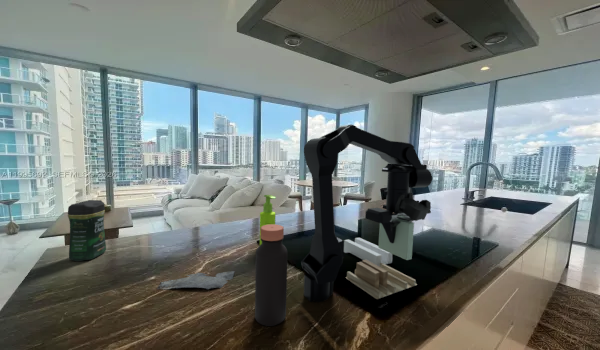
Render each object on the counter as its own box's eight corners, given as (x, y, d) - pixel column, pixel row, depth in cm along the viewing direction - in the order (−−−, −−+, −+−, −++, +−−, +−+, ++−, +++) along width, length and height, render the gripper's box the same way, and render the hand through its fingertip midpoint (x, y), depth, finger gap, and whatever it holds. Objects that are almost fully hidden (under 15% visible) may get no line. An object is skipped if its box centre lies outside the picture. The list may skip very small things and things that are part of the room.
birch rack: (376, 303, 61) (377, 293, 60) (344, 280, 71) (345, 272, 71) (417, 287, 68) (417, 279, 68) (383, 269, 79) (383, 262, 78)
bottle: (286, 307, 58) (288, 223, 56) (285, 327, 51) (287, 232, 50) (257, 306, 58) (258, 222, 56) (252, 327, 51) (253, 232, 49)
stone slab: (235, 269, 74) (226, 285, 64) (235, 275, 74) (226, 292, 64) (174, 270, 74) (155, 286, 64) (174, 276, 74) (155, 293, 64)
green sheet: (406, 260, 66) (409, 223, 66) (378, 247, 75) (380, 215, 74) (411, 258, 67) (414, 222, 67) (383, 246, 76) (384, 214, 75)
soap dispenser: (266, 251, 91) (267, 197, 90) (256, 245, 96) (257, 194, 95) (279, 247, 95) (280, 195, 93) (269, 242, 100) (270, 193, 99)
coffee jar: (91, 262, 78) (88, 204, 77) (63, 262, 78) (60, 203, 76) (111, 250, 88) (109, 198, 86) (87, 250, 87) (84, 198, 86)
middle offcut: (382, 290, 64) (383, 272, 64) (361, 277, 71) (362, 260, 71) (386, 289, 65) (387, 271, 65) (365, 276, 72) (365, 259, 72)
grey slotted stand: (376, 269, 78) (376, 256, 78) (343, 251, 92) (344, 240, 92) (391, 265, 82) (392, 252, 82) (358, 248, 96) (358, 237, 95)
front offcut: (374, 292, 64) (375, 273, 63) (355, 279, 70) (356, 262, 69) (378, 290, 64) (379, 272, 64) (359, 278, 70) (360, 261, 70)
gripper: (399, 194, 58) (395, 258, 59) (445, 190, 67) (441, 246, 69) (365, 188, 68) (362, 243, 69) (409, 185, 77) (406, 234, 78)
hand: (394, 242), depth 71 cm, fingers closed on green sheet, 2 cm apart
